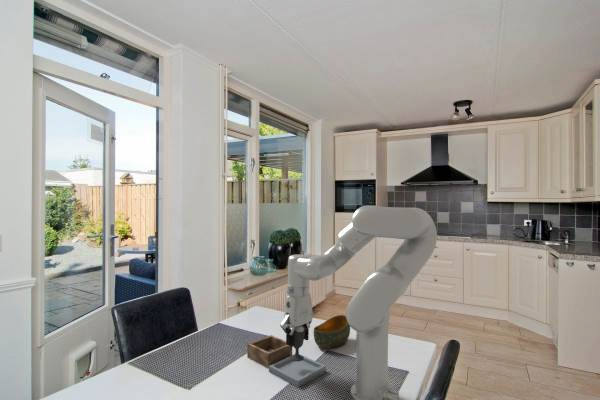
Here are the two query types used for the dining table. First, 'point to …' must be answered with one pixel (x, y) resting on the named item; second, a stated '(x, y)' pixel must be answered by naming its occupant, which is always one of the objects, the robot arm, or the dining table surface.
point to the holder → (260, 347)
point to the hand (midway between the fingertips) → (297, 341)
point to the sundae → (298, 342)
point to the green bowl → (332, 333)
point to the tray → (297, 370)
